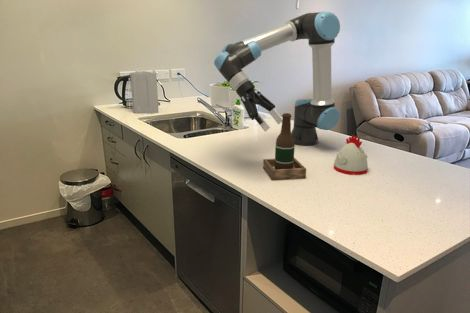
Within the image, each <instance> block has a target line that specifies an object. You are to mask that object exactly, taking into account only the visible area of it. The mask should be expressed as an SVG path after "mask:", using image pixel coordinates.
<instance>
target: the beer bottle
mask: <svg viewBox="0 0 470 313" xmlns="http://www.w3.org/2000/svg"><path fill="white" fill-rule="evenodd" d="M281 118H282V122H281V130H280V133H279V135H277V137H276V140H275V147H274V148H275V151H274V154H275V155H274V159H275V170H277V169H293V163H294V158H295V148H296V147H295V145H296V144H295V142H294V139H293V137H292V135H291V132H292V130H291V127H292V126H291V125H292V124H291V120H292V119H291V118H292V114H291V113H285V112H284V113H282V114H281Z"/></svg>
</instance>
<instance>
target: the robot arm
mask: <svg viewBox="0 0 470 313" xmlns="http://www.w3.org/2000/svg"><path fill="white" fill-rule="evenodd" d="M340 31H341V24H340V20H339V18H338V16H337V15H336V14H335V13H333V12H331V11H319V12H308V13H304V14H302V15H299V16H297V17H295V18H291V19H290V20H287V21H286V22H285V23H284V24H283V25H280V26H277V27H275V28H272V29H269V30H267V31H264V32H261V33H259V34H257V35H256V34H255V35H254V36H250V37H248V38H245V39H243V40H240V41H238V42H235V43H229V44H225V46H223V47H222V50H221V52H220V54H218V55H217V56H216V57H215V59H214V62H213V64H214V66H215V67H216V69H217V70H218V72H219V73H220V74H221V75H222V76H223V78H224V79H225V80H226V82H227V83H228V84H229V85H230V87H231V88H232V89H233V90H234V91H235V92H236V95H238V97H239V98H240V101H241V103H242V104H243V106H244V108H245V111H246V113H247V116H248V117H249V119H251V120H252V121H254V120H255V121H256V122H257V124H258V125H259V126H260V128H261V129H262V130H263V131H264V132H267V131H268V130H269V129H271V126H270V125H269V124H268V122H267V121H266V120H265V118H264V117H263V116H262V115H261V114H260V113H259V111H258V107H257V105H258V106H260V107H261V108H263V109H264V110H267V111H268V113H269V115H270V116H271V117H272V119H274V121H275V122H276V123H277V125H280V124H282V119H283V117H282V115H280V114H279V113H278V111H277V110H276V109H275V108H276V105H275V104H274V103H273V102H271V101H270V100H269V98H267V97H266V96H265V95H263V94H262V92H261V91H260V90H257V91H255V88H256V86H255V85H254V83H253V82H252V81H251V80H249V77H248V76H247V75H246V73H245V72H244V71H243V69H244V68H246V67H247V66H249V65H251V64H252V63H253V62H255V61H257V59H258V58H260V57H261V55H262V52H264V51H266V50H269V49H272V48H274V47H275V46H279V45H281V44H284V43H287V42H289V41H290V42H295V41H298V40H308V41H307V42H308V46H309V47H310V48H311V55H312V56H311V58H312V59H311V60H312V62H311V63H312V98H300V99H297V100H295V101H294V102H295V103H294V110H293V111H294V116H293V127H292V130H291V135H292V137H293V139H294V142H295V145H297V146H298V145H299V146H314V145H317V144H318V143H319V137H318V132H317V129H319V130H323V131H330V130H332V129H333V128H335V127H336V126H337V125H338V123H339V121H340V117H341V113H340V111H339V109H338V108H337V107H336V101H335V100H334V98H332V46H333V45H334V44H335V42H336V40H335V39H336V38H337V37H338V36H339V33H340ZM316 128H317V129H316Z"/></svg>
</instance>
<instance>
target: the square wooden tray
mask: <svg viewBox="0 0 470 313" xmlns="http://www.w3.org/2000/svg"><path fill="white" fill-rule="evenodd" d="M262 162H263V163H262V168H263V170H264V172H265V173H266V174H267V175H268V177H269V179H270V180H271V181H280V180H281V181H282V180H283V181H284V180H296V179H297V180H299V179H300V180H301V179H306V178H307V177H306V176H307V168H306V167H305V166H304V165H303V164H302V163H301V162H300V161H299V160H298V159H296V158H295V157H294V163H293V169H277V170H275V158H263V160H262Z"/></svg>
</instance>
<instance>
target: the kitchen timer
mask: <svg viewBox="0 0 470 313" xmlns="http://www.w3.org/2000/svg"><path fill="white" fill-rule="evenodd" d="M345 140H346V141H345V142H346V144H345V145H344V146H343V147H342V148H341V149H339V151H338V153H337V154H336V157H335V159H334V162H333V169H334V170H335V171H336V172H338V173H340V174H344V175H348V176H361V175H365V174H367V172H368V168H369V167H368V166H369V164H368V154H367V153H366V152H365V150H364V149H363V147H362V146H361V145H362V143H363V141H360V140H361V137H358V136H357V135H356V136H355V135H353V134H352V135H351V136H349V137H348V138H346V139H345Z"/></svg>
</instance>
